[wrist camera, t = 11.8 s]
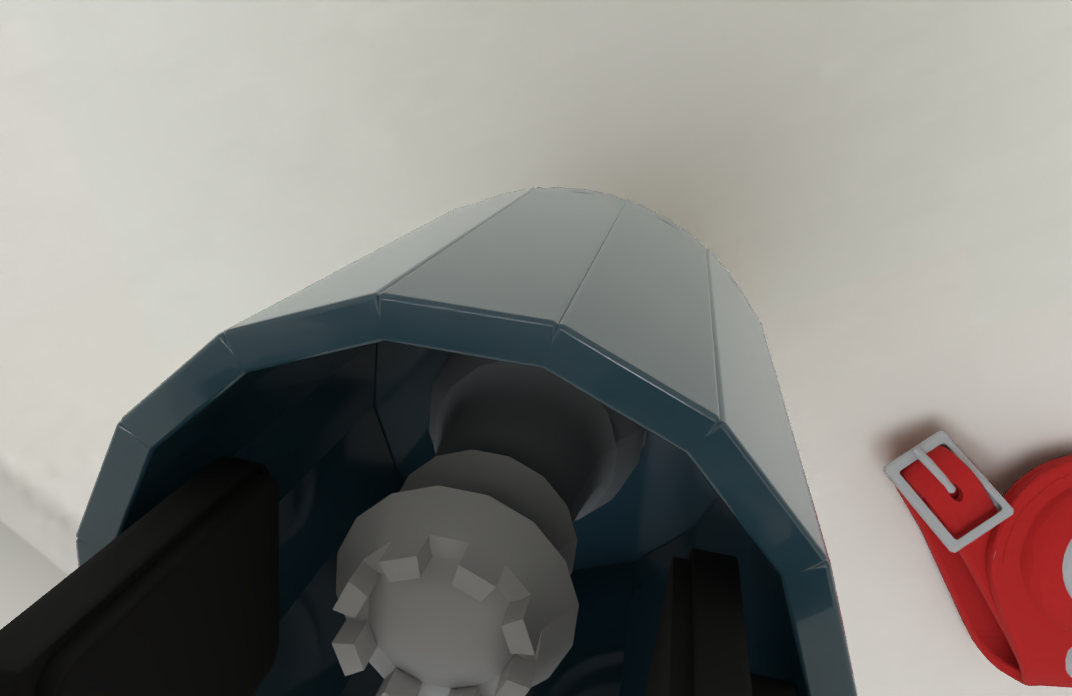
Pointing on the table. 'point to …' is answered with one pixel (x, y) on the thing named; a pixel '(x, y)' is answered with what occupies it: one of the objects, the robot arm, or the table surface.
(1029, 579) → the tracker holder
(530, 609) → the rook chess piece
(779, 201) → the table surface
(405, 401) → the tumbler
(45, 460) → the table surface
